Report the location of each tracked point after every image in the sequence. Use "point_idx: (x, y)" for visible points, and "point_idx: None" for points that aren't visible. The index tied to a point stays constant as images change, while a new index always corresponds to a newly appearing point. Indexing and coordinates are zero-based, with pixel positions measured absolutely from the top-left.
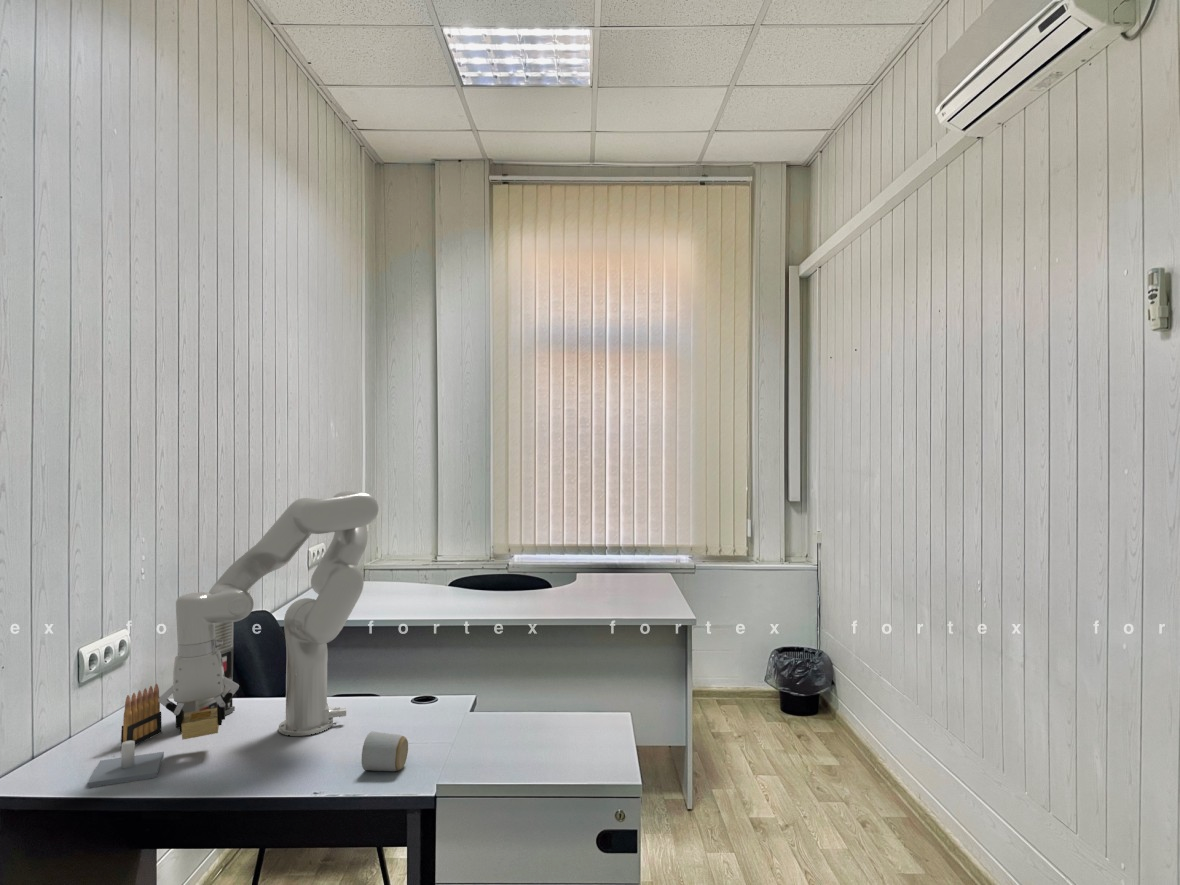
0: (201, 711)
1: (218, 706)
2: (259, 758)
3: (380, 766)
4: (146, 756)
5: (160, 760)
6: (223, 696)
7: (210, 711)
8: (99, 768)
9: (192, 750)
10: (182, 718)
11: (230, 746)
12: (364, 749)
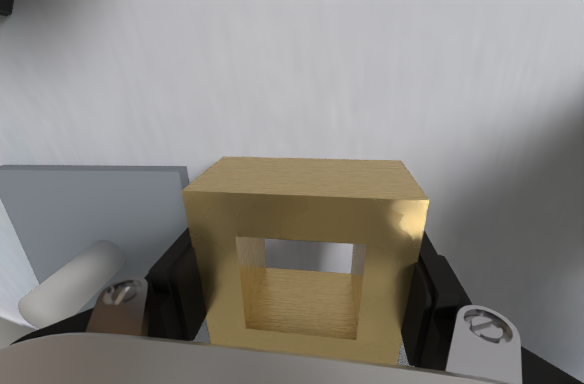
0: (297, 220)
1: (426, 366)
2: (483, 305)
3: None
4: (133, 195)
5: None
6: (520, 371)
7: (360, 242)
8: (28, 238)
9: (276, 147)
10: (200, 325)
11: (413, 163)
12: None
